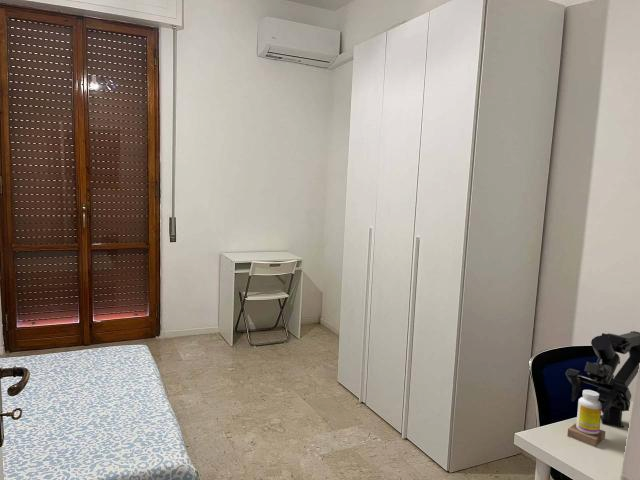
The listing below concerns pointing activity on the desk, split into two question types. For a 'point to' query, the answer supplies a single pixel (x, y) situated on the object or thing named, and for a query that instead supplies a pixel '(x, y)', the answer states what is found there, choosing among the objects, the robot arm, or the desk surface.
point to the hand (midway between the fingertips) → (587, 406)
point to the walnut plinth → (586, 436)
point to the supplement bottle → (589, 412)
